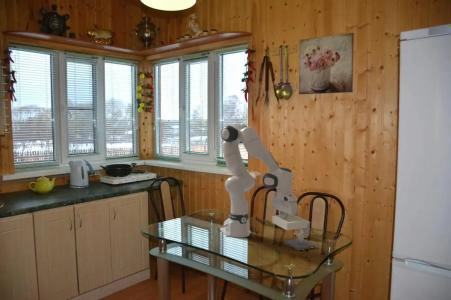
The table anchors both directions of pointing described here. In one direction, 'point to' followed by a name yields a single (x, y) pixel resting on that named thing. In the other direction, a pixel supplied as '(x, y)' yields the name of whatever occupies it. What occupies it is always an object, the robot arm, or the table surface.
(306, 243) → the keeper plate
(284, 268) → the table surface
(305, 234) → the small box
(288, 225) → the link
